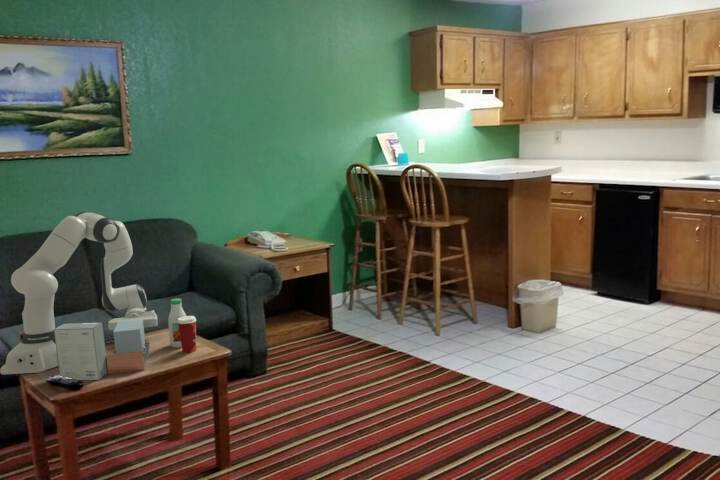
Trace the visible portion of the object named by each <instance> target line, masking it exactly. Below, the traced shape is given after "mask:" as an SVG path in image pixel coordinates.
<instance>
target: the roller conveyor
mask: <svg viewBox="0 0 720 480" xmlns="http://www.w3.org/2000/svg"><path fill="white" fill-rule="evenodd" d="M149 352H150V342H144V346H143V350H142V351H135V352H126V353H118V354H116V351H115V350H114V352H113V353H110V354H109V353H108V354H106V360H107V368H108V373H107V374H108V375H113V374H121V373H129V372H135V371H136V372H138V371H145V368H146V364H147V359H148V357H149Z"/></svg>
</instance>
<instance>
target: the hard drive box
mask: <svg viewBox="0 0 720 480" xmlns="http://www.w3.org/2000/svg"><path fill="white" fill-rule="evenodd" d="M54 336H55V344H56V351H57V359H58V366H57V367H58V373H59V377H60V376H62V377H68V378H72V379H77V380H76V381H100V380H101V379H102V378H103V377H105V376H106V375H107V374H108V367H107V358H106V356H107V353H106V345H105V336H104V329H103V322H75V323H62V324H61V325H59V326H57V327H56V328H55V329H54Z"/></svg>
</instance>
